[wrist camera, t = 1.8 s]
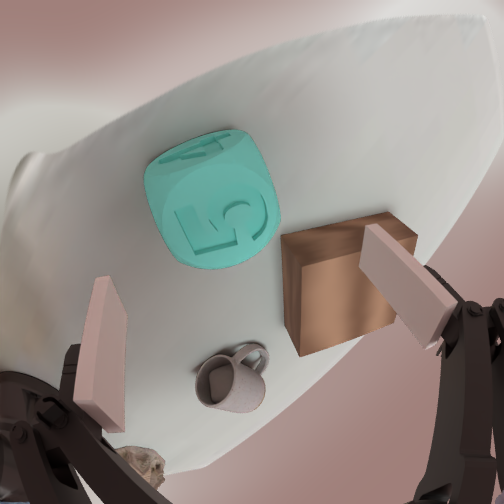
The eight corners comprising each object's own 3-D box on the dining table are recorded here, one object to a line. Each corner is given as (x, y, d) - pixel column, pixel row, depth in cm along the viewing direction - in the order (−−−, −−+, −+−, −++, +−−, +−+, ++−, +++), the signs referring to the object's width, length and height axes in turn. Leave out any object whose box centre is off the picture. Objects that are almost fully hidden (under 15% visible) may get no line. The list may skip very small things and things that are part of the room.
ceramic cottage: (149, 469, 62) (157, 515, 49) (97, 455, 53) (100, 506, 41) (183, 452, 60) (195, 504, 47) (126, 437, 51) (132, 496, 39)
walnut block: (283, 323, 39) (299, 357, 34) (279, 233, 31) (301, 266, 26) (372, 295, 41) (393, 322, 37) (387, 210, 33) (418, 235, 29)
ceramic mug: (227, 386, 44) (239, 425, 38) (190, 371, 40) (199, 414, 34) (277, 351, 42) (295, 391, 36) (242, 331, 38) (258, 376, 32)
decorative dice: (146, 158, 23) (137, 191, 17) (235, 122, 24) (262, 141, 17) (181, 232, 28) (188, 285, 21) (260, 201, 28) (290, 244, 22)
